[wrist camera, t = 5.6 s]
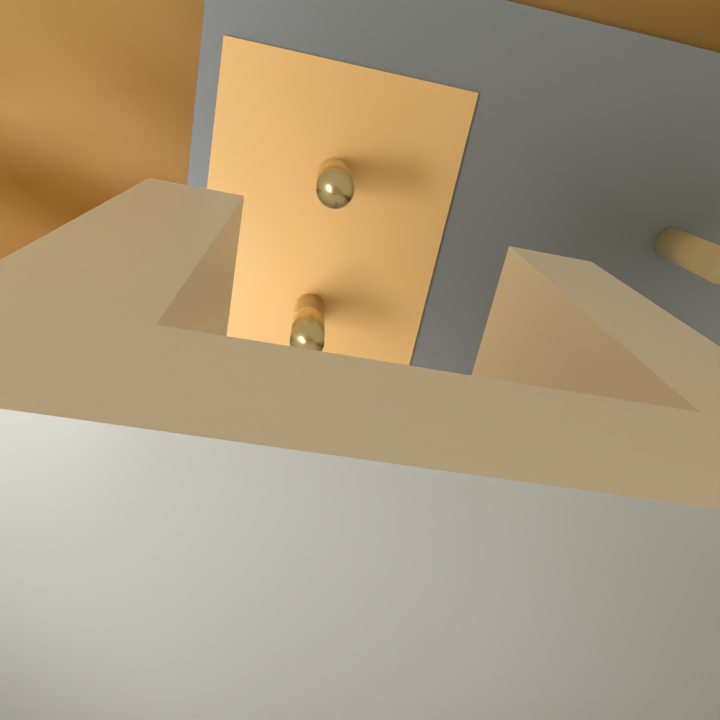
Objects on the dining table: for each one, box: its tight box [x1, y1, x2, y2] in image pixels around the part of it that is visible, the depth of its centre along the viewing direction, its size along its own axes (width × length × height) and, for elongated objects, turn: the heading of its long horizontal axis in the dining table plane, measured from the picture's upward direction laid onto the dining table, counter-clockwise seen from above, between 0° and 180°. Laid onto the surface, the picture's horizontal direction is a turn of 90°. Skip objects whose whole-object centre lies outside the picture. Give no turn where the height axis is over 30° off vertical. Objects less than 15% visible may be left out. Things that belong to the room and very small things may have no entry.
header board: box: [187, 0, 720, 375], centre depth 17 cm, size 16×16×4 cm
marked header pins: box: [290, 158, 354, 351], centre depth 16 cm, size 1×8×2 cm, turn 168°
